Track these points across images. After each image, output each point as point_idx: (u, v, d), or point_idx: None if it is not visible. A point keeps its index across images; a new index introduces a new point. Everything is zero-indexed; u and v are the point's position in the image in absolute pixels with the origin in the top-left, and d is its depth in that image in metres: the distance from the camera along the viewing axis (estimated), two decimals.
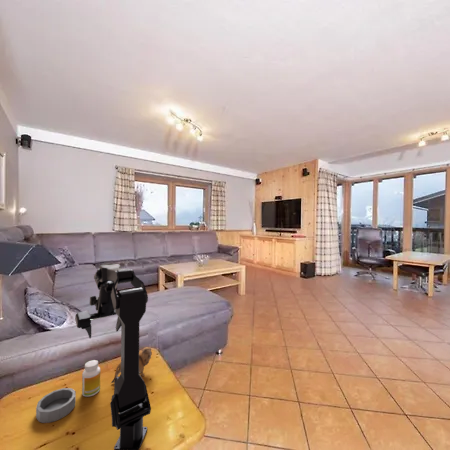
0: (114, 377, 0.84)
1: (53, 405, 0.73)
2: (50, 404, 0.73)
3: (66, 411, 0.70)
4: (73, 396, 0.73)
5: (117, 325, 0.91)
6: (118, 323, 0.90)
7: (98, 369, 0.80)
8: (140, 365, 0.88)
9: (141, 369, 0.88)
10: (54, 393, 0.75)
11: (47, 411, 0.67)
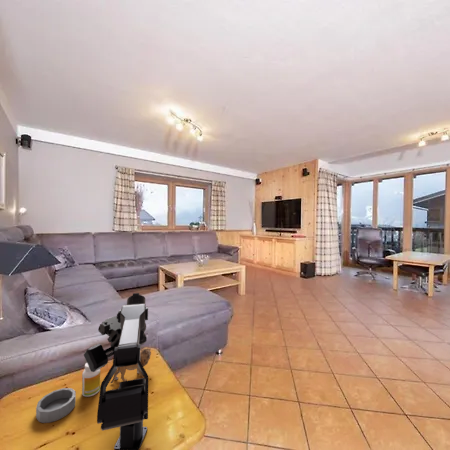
0: (113, 377, 0.84)
1: (53, 405, 0.73)
2: (50, 404, 0.73)
3: (66, 411, 0.70)
4: (73, 396, 0.73)
5: None
6: None
7: None
8: None
9: None
10: (54, 393, 0.75)
11: (47, 411, 0.67)
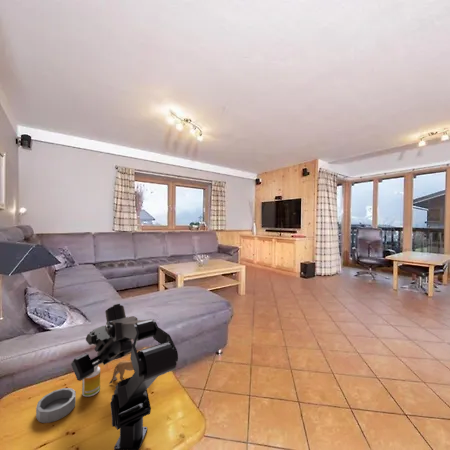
0: (112, 378, 0.84)
1: (53, 405, 0.73)
2: (50, 404, 0.73)
3: (66, 411, 0.70)
4: (73, 396, 0.73)
5: None
6: None
7: (98, 369, 0.80)
8: None
9: None
10: (54, 393, 0.75)
11: (47, 411, 0.67)
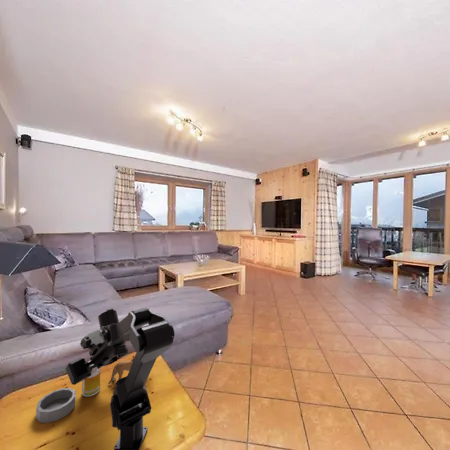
0: (111, 378, 0.84)
1: (53, 405, 0.73)
2: (50, 404, 0.73)
3: (66, 411, 0.70)
4: (73, 396, 0.73)
5: None
6: None
7: (98, 369, 0.80)
8: None
9: None
10: (54, 393, 0.75)
11: (47, 411, 0.67)
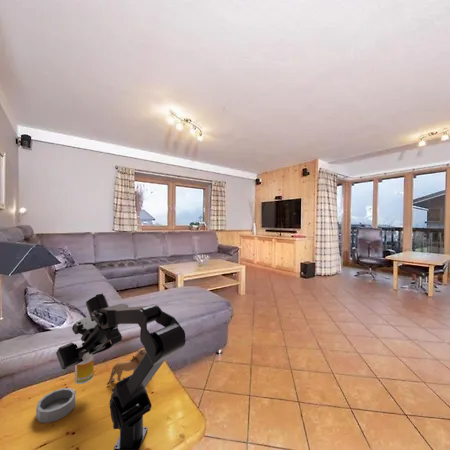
0: (110, 379, 0.84)
1: (53, 405, 0.73)
2: (50, 404, 0.73)
3: (66, 411, 0.70)
4: (73, 396, 0.73)
5: None
6: None
7: (91, 356, 0.78)
8: (136, 366, 0.87)
9: None
10: (54, 393, 0.75)
11: (47, 411, 0.67)
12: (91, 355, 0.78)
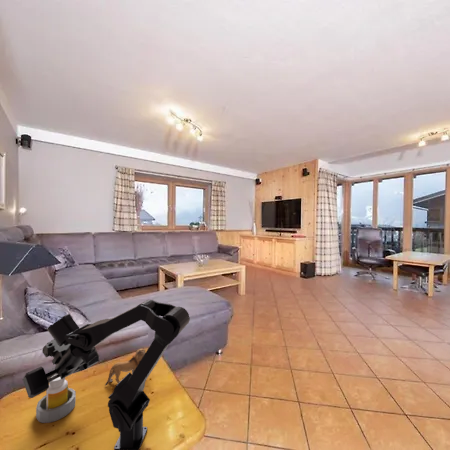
0: (108, 379, 0.83)
1: None
2: None
3: (66, 411, 0.70)
4: (73, 396, 0.73)
5: None
6: None
7: (65, 383, 0.72)
8: (134, 367, 0.87)
9: None
10: None
11: (47, 411, 0.67)
12: (65, 382, 0.72)
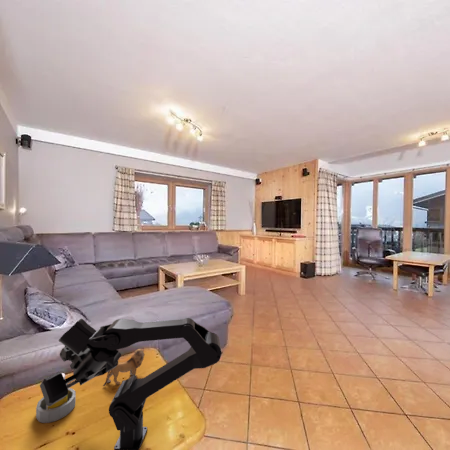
0: (106, 380, 0.83)
1: None
2: None
3: (66, 411, 0.70)
4: (73, 396, 0.73)
5: None
6: None
7: None
8: (132, 367, 0.86)
9: (133, 371, 0.87)
10: None
11: (47, 411, 0.67)
12: None
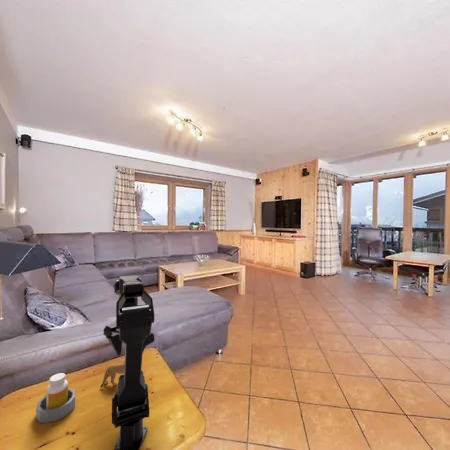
0: (103, 381, 0.82)
1: None
2: None
3: (66, 411, 0.70)
4: (73, 396, 0.73)
5: None
6: None
7: (65, 383, 0.72)
8: None
9: None
10: None
11: (47, 411, 0.67)
12: (65, 382, 0.72)
